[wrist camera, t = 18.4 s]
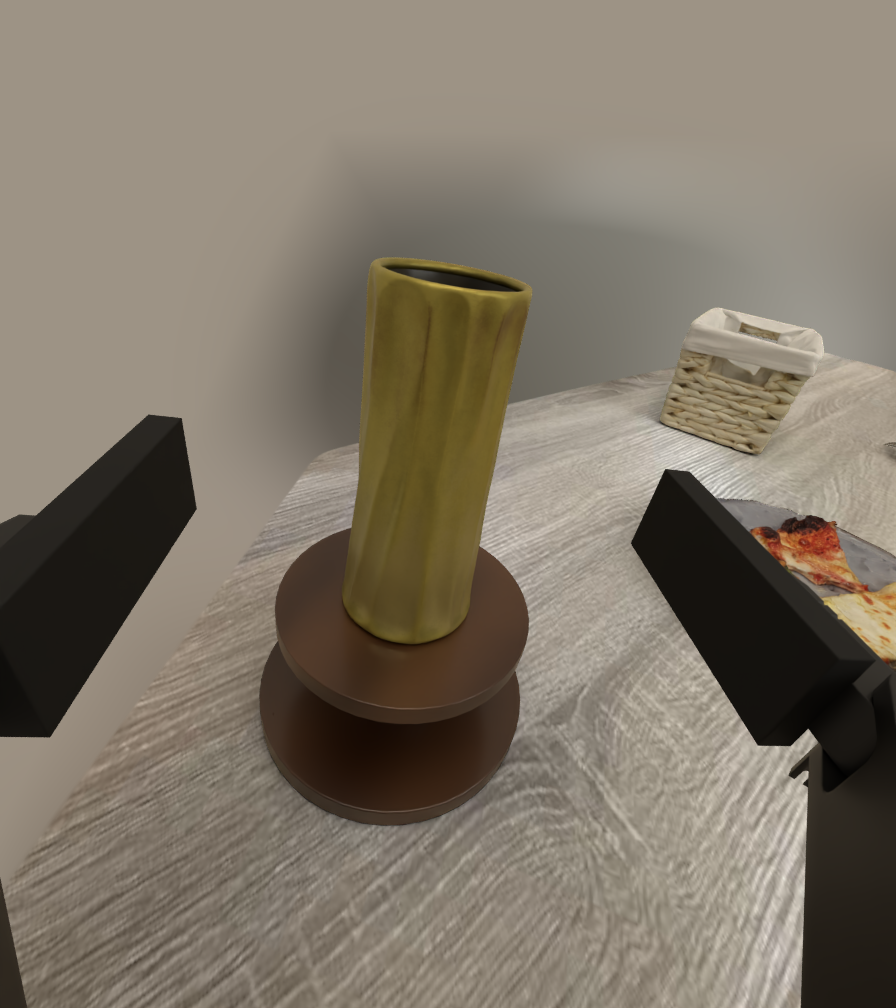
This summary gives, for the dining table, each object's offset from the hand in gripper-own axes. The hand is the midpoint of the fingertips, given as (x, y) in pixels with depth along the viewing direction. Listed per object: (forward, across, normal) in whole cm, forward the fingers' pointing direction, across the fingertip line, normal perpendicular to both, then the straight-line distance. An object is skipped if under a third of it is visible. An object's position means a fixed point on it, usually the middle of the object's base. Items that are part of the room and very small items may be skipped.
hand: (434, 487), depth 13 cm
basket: (+55, +50, -17) cm, 76 cm away
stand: (+5, 0, -17) cm, 18 cm away
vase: (+5, 0, -10) cm, 11 cm away
